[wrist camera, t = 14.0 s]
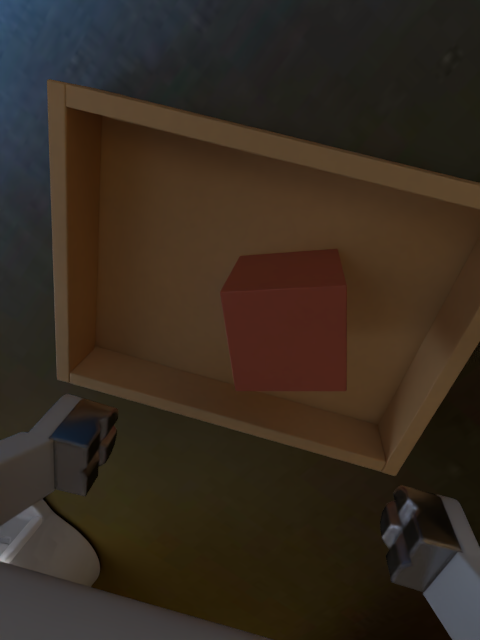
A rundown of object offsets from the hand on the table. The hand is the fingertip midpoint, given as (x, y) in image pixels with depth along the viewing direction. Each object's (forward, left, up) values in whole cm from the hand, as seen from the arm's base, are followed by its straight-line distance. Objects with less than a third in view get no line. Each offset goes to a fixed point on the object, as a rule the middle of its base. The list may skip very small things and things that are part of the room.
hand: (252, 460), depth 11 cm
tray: (-1, 0, -12) cm, 12 cm away
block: (+1, +1, -11) cm, 11 cm away
